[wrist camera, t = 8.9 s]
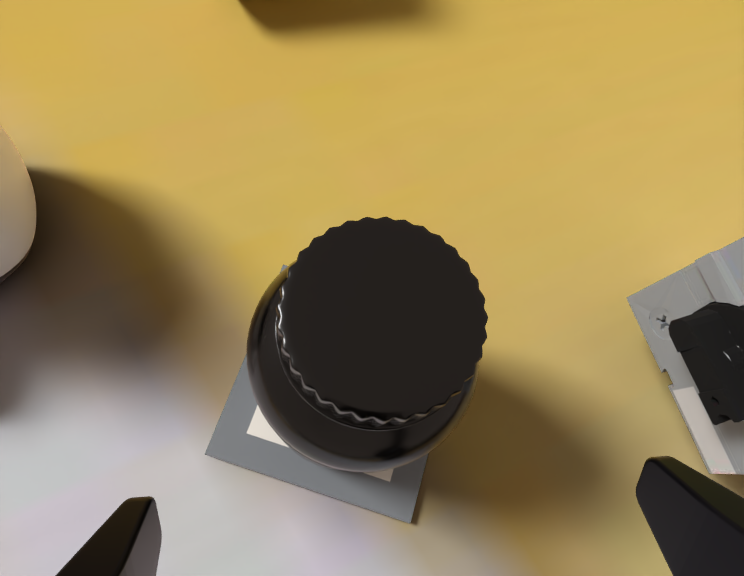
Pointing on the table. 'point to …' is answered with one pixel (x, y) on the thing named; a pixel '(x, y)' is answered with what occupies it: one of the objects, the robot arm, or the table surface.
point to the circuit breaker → (702, 350)
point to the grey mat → (274, 458)
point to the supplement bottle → (368, 346)
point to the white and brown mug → (14, 208)
